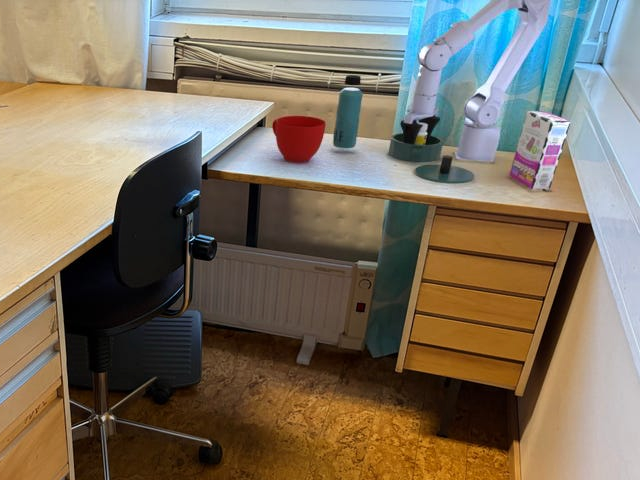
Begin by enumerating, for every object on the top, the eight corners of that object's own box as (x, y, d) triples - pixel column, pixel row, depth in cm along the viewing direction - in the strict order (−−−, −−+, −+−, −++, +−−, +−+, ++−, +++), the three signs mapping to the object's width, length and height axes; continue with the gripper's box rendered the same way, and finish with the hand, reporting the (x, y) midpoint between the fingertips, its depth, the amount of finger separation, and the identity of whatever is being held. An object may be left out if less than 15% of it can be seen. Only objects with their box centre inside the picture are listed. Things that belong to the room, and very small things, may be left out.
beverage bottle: (358, 149, 199) (369, 74, 188) (350, 155, 194) (361, 78, 184) (336, 146, 202) (346, 72, 191) (327, 151, 197) (337, 76, 187)
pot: (437, 150, 199) (441, 132, 196) (440, 169, 184) (445, 150, 181) (388, 146, 202) (391, 128, 199) (387, 164, 187) (391, 145, 184)
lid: (470, 171, 182) (475, 151, 180) (475, 188, 171) (480, 167, 168) (413, 166, 186) (417, 147, 183) (414, 182, 174) (418, 162, 171)
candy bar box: (551, 191, 169) (572, 121, 160) (531, 191, 169) (551, 121, 160) (526, 176, 178) (545, 109, 170) (507, 177, 178) (525, 110, 169)
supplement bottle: (423, 158, 190) (430, 126, 186) (405, 157, 191) (411, 125, 187) (421, 153, 194) (428, 122, 190) (404, 152, 195) (409, 121, 191)
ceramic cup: (288, 147, 201) (292, 110, 196) (331, 161, 189) (336, 123, 184) (253, 153, 195) (256, 116, 190) (295, 169, 183) (299, 129, 178)
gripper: (425, 88, 191) (415, 138, 198) (397, 95, 182) (388, 148, 189) (450, 92, 186) (438, 143, 194) (422, 99, 178) (412, 153, 185)
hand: (415, 146), depth 191 cm, fingers open, 7 cm apart
